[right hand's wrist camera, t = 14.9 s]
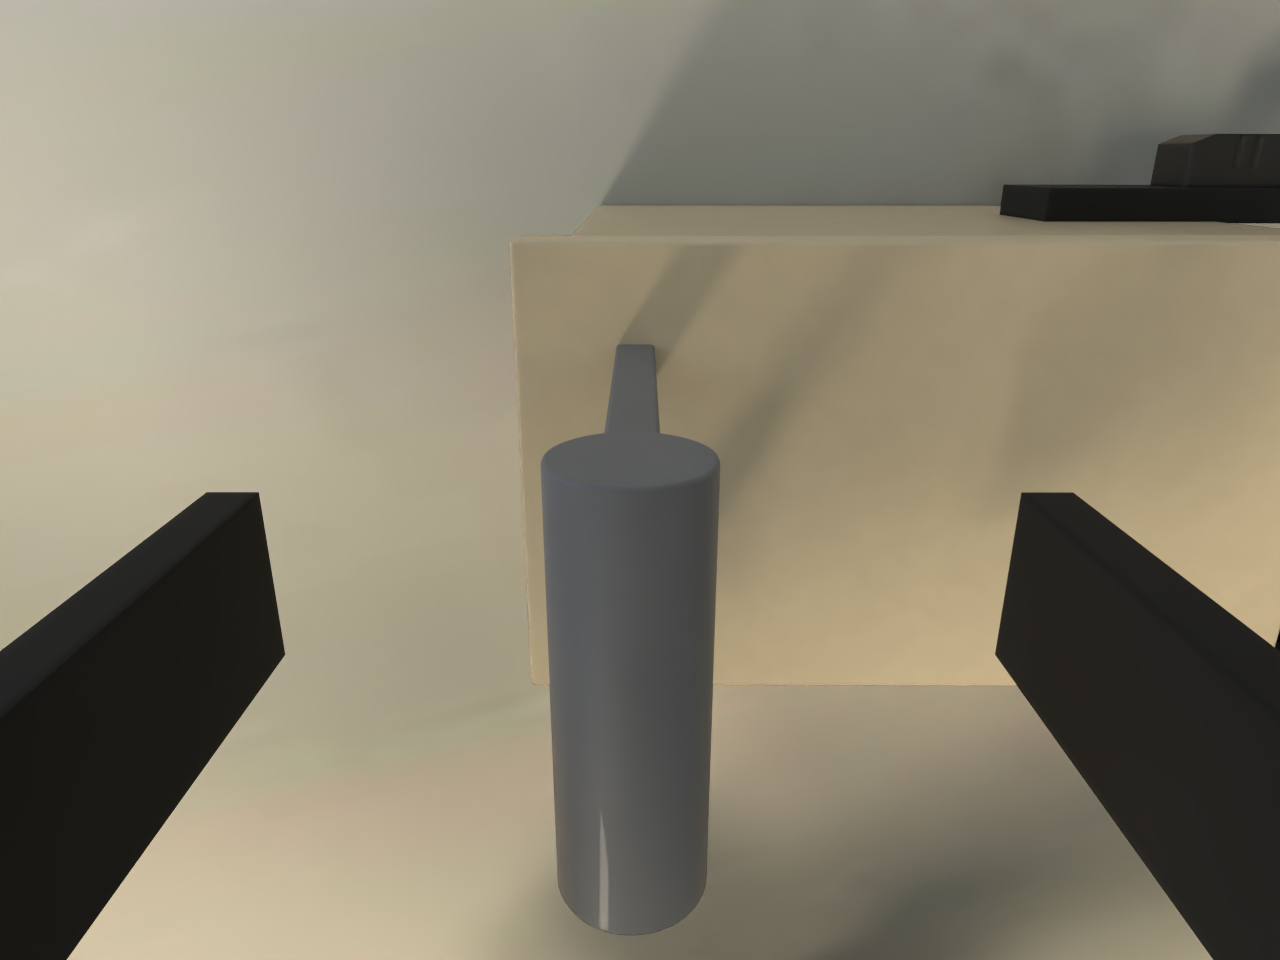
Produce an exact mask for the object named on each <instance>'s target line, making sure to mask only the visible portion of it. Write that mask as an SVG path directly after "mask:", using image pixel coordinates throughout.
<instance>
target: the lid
mask: <svg viewBox="0 0 1280 960" xmlns="http://www.w3.org/2000/svg"><path fill="white" fill-rule="evenodd" d="M509 251H510V271H511V290H512V310H513V330H514V350H515V370H516V390H517V409H518V429H519V449H520V469H521V489H522V509H523V528H524V548H525V568H526V588H527V608H528V628H529V647H530V667H531V681H532V683H533V684H535V685H550V705H551V729H552V753H553V777H554V801H555V824H556V848H557V872H558V884H559V889H560V892H561V895H562V897H563V899H564V901H565V902H566V904H567V905H568V907H569V908H570V909H571V911H572V912H573V913H574V914H575V915H576V916H577V917H579V918H580V919H581V920H582V921H584V922H585V923H587V924H589V925H591V926H592V927H595V928H597V929H599V930H602V931H605V932H609V933H613V934H619V935H644V934H650V933H654V932H658V931H661V930H664V929H666V928H669V927H671V926H673V925H674V924H676V923H678V922H679V921H681V920H682V919H683V918H685V917H686V916H687V915H688V914H689V913H690V912H691V911H692V910H693V909H694V907H695V906H696V905H697V903H698V902H699V900H700V898H701V896H702V894H703V892H704V889H705V884H706V873H707V843H708V814H709V785H710V756H711V726H712V697H713V685H974V686H1017V685H1016V683H1015V682H1014V681H1013V679H1012V678H1011V676H1010V675H1009V674H1008V672H1007V671H1006V669H1005V668H1004V667H1003V665H1002V664H1001V662H1000V661H999V660H998V658H997V657H996V655H995V651H996V645H997V639H998V633H999V626H1000V620H1001V614H1002V608H1003V602H1004V596H1005V590H1006V583H1007V577H1008V571H1009V565H1010V559H1011V553H1012V547H1013V541H1014V534H1015V528H1016V522H1017V516H1018V510H1019V504H1020V498H1021V492H1073V493H1075V494H1076V495H1077V496H1078V497H1080V498H1081V499H1082V500H1084V501H1085V502H1086V503H1088V504H1089V505H1090V506H1091V507H1093V508H1094V509H1095V510H1097V511H1098V512H1099V513H1101V514H1102V515H1103V516H1104V517H1106V518H1107V519H1108V520H1110V521H1111V522H1112V523H1114V524H1115V525H1116V526H1117V527H1119V528H1120V529H1121V530H1123V531H1124V532H1125V533H1127V534H1128V535H1129V536H1130V537H1132V538H1133V539H1134V540H1136V541H1137V542H1138V543H1140V544H1141V545H1142V546H1143V547H1145V548H1146V549H1147V550H1149V551H1150V552H1151V553H1153V554H1154V555H1155V556H1156V557H1158V558H1159V559H1160V560H1162V561H1163V562H1164V563H1166V564H1167V565H1168V566H1169V567H1171V568H1172V569H1173V570H1175V571H1176V572H1177V573H1179V574H1180V575H1181V576H1182V577H1184V578H1185V579H1186V580H1188V581H1189V582H1190V583H1192V584H1193V585H1194V586H1195V587H1197V588H1198V589H1199V590H1201V591H1202V592H1203V593H1205V594H1206V595H1207V596H1208V597H1210V598H1211V599H1212V600H1214V601H1215V602H1216V603H1218V604H1219V605H1220V606H1221V607H1223V608H1224V609H1225V610H1227V611H1228V612H1229V613H1231V614H1232V615H1233V616H1234V617H1236V618H1237V619H1238V620H1240V621H1241V622H1242V623H1244V624H1245V625H1246V626H1247V627H1249V628H1250V629H1251V630H1253V631H1254V632H1255V633H1257V634H1258V635H1259V636H1260V637H1262V638H1263V639H1264V640H1266V641H1267V642H1268V643H1270V644H1271V645H1272V646H1273V647H1275V645H1276V641H1277V638H1278V634H1279V631H1280V236H520V237H518V238H516V239H514V240H513V241H511V242H510V245H509Z"/></svg>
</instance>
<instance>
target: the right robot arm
mask: <svg viewBox="0 0 1280 960" xmlns="http://www.w3.org/2000/svg"><path fill="white" fill-rule="evenodd" d="M284 655H285V651H284V645H283V639H282V633H281V627H280V620H279V614H278V608H277V602H276V596H275V590H274V584H273V577H272V571H271V565H270V559H269V553H268V547H267V541H266V534H265V528H264V522H263V516H262V510H261V504H260V498H259V492H207V493H205V494H204V495H203V496H202V497H200V498H199V499H198V500H196V501H195V502H194V503H192V504H191V505H190V506H189V507H187V508H186V509H185V510H183V511H182V512H181V513H179V514H178V515H177V516H176V517H174V518H173V519H172V520H170V521H169V522H168V523H166V524H165V525H164V526H163V527H161V528H160V529H159V530H157V531H156V532H155V533H153V534H152V535H151V536H150V537H148V538H147V539H146V540H144V541H143V542H142V543H140V544H139V545H138V546H137V547H135V548H134V549H133V550H131V551H130V552H129V553H127V554H126V555H125V556H124V557H122V558H121V559H120V560H118V561H117V562H116V563H114V564H113V565H112V566H111V567H109V568H108V569H107V570H105V571H104V572H103V573H101V574H100V575H99V576H97V577H96V578H95V579H94V580H92V581H91V582H90V583H88V584H87V585H86V586H84V587H83V588H82V589H81V590H79V591H78V592H77V593H75V594H74V595H73V596H71V597H70V598H69V599H68V600H66V601H65V602H64V603H62V604H61V605H60V606H58V607H57V608H56V609H55V610H53V611H52V612H51V613H49V614H48V615H47V616H45V617H44V618H43V619H42V620H40V621H39V622H38V623H36V624H35V625H34V626H32V627H31V628H30V629H29V630H27V631H26V632H25V633H23V634H22V635H21V636H19V637H18V638H17V639H16V640H14V641H13V642H12V643H10V644H9V645H8V646H6V647H5V648H4V649H3V650H1V651H0V960H67V958H68V957H69V955H70V954H71V953H72V951H73V950H74V949H75V947H76V946H77V944H78V943H79V942H80V940H81V939H82V937H83V936H84V935H85V933H86V932H87V930H88V929H89V928H90V926H91V925H92V923H93V922H94V921H95V919H96V918H97V916H98V915H99V914H100V912H101V911H102V909H103V908H104V907H105V905H106V904H107V902H108V901H109V900H110V898H111V897H112V895H113V894H114V893H115V891H116V890H117V888H118V887H119V886H120V884H121V883H122V882H123V880H124V879H125V877H126V876H127V875H128V873H129V872H130V870H131V869H132V868H133V866H134V865H135V863H136V862H137V861H138V859H139V858H140V856H141V855H142V854H143V852H144V851H145V849H146V848H147V847H148V845H149V844H150V842H151V841H152V840H153V838H154V837H155V835H156V834H157V833H158V831H159V830H160V828H161V827H162V826H163V824H164V823H165V821H166V820H167V819H168V817H169V816H170V815H171V813H172V812H173V810H174V809H175V808H176V806H177V805H178V803H179V802H180V801H181V799H182V798H183V796H184V795H185V794H186V792H187V791H188V789H189V788H190V787H191V785H192V784H193V782H194V781H195V780H196V778H197V777H198V775H199V774H200V773H201V771H202V770H203V768H204V767H205V766H206V764H207V763H208V761H209V760H210V759H211V757H212V756H213V755H214V753H215V752H216V750H217V749H218V748H219V746H220V745H221V743H222V742H223V741H224V739H225V738H226V736H227V735H228V734H229V732H230V731H231V729H232V728H233V727H234V725H235V724H236V722H237V721H238V720H239V718H240V717H241V715H242V714H243V713H244V711H245V710H246V708H247V707H248V706H249V704H250V703H251V701H252V700H253V699H254V697H255V696H256V694H257V693H258V692H259V690H260V689H261V688H262V686H263V685H264V683H265V682H266V681H267V679H268V678H269V676H270V675H271V674H272V672H273V671H274V669H275V668H276V667H277V665H278V664H279V662H280V661H281V660H282V658H283V657H284ZM995 655H996V657H997V658H998V660H999V661H1000V662H1001V664H1002V665H1003V667H1004V668H1005V669H1006V671H1007V672H1008V674H1009V675H1010V676H1011V678H1012V679H1013V681H1014V682H1015V683H1016V685H1017V686H1018V688H1019V689H1020V690H1021V692H1022V693H1023V695H1024V696H1025V697H1026V699H1027V700H1028V701H1029V703H1030V704H1031V706H1032V707H1033V708H1034V710H1035V711H1036V713H1037V714H1038V715H1039V717H1040V718H1041V720H1042V721H1043V722H1044V724H1045V725H1046V727H1047V728H1048V729H1049V731H1050V732H1051V734H1052V735H1053V736H1054V738H1055V739H1056V741H1057V742H1058V743H1059V745H1060V746H1061V748H1062V749H1063V750H1064V752H1065V753H1066V755H1067V756H1068V757H1069V759H1070V760H1071V762H1072V763H1073V764H1074V766H1075V767H1076V768H1077V770H1078V771H1079V773H1080V774H1081V775H1082V777H1083V778H1084V780H1085V781H1086V782H1087V784H1088V785H1089V787H1090V788H1091V789H1092V791H1093V792H1094V794H1095V795H1096V796H1097V798H1098V799H1099V801H1100V802H1101V803H1102V805H1103V806H1104V808H1105V809H1106V810H1107V812H1108V813H1109V815H1110V816H1111V817H1112V819H1113V820H1114V822H1115V823H1116V824H1117V826H1118V827H1119V829H1120V830H1121V831H1122V833H1123V834H1124V835H1125V837H1126V838H1127V840H1128V841H1129V842H1130V844H1131V845H1132V847H1133V848H1134V849H1135V851H1136V852H1137V854H1138V855H1139V856H1140V858H1141V859H1142V861H1143V862H1144V863H1145V865H1146V866H1147V868H1148V869H1149V870H1150V872H1151V873H1152V875H1153V876H1154V877H1155V879H1156V880H1157V882H1158V883H1159V884H1160V886H1161V887H1162V889H1163V890H1164V891H1165V893H1166V894H1167V895H1168V897H1169V898H1170V900H1171V901H1172V902H1173V904H1174V905H1175V907H1176V908H1177V909H1178V911H1179V912H1180V914H1181V915H1182V916H1183V918H1184V919H1185V921H1186V922H1187V923H1188V925H1189V926H1190V928H1191V929H1192V930H1193V932H1194V933H1195V935H1196V936H1197V937H1198V939H1199V940H1200V942H1201V943H1202V944H1203V946H1204V947H1205V949H1206V950H1207V951H1208V953H1209V954H1210V956H1211V957H1212V958H1213V960H1280V651H1279V650H1277V649H1276V648H1275V647H1273V646H1272V645H1271V644H1270V643H1268V642H1267V641H1266V640H1264V639H1263V638H1262V637H1260V636H1259V635H1258V634H1257V633H1255V632H1254V631H1253V630H1251V629H1250V628H1249V627H1247V626H1246V625H1245V624H1244V623H1242V622H1241V621H1240V620H1238V619H1237V618H1236V617H1234V616H1233V615H1232V614H1231V613H1229V612H1228V611H1227V610H1225V609H1224V608H1223V607H1221V606H1220V605H1219V604H1218V603H1216V602H1215V601H1214V600H1212V599H1211V598H1210V597H1208V596H1207V595H1206V594H1205V593H1203V592H1202V591H1201V590H1199V589H1198V588H1197V587H1195V586H1194V585H1193V584H1192V583H1190V582H1189V581H1188V580H1186V579H1185V578H1184V577H1182V576H1181V575H1180V574H1179V573H1177V572H1176V571H1175V570H1173V569H1172V568H1171V567H1169V566H1168V565H1167V564H1166V563H1164V562H1163V561H1162V560H1160V559H1159V558H1158V557H1156V556H1155V555H1154V554H1153V553H1151V552H1150V551H1149V550H1147V549H1146V548H1145V547H1143V546H1142V545H1141V544H1140V543H1138V542H1137V541H1136V540H1134V539H1133V538H1132V537H1130V536H1129V535H1128V534H1127V533H1125V532H1124V531H1123V530H1121V529H1120V528H1119V527H1117V526H1116V525H1115V524H1114V523H1112V522H1111V521H1110V520H1108V519H1107V518H1106V517H1104V516H1103V515H1102V514H1101V513H1099V512H1098V511H1097V510H1095V509H1094V508H1093V507H1091V506H1090V505H1089V504H1088V503H1086V502H1085V501H1084V500H1082V499H1081V498H1080V497H1078V496H1077V495H1076V494H1075V493H1073V492H1021V498H1020V504H1019V510H1018V516H1017V522H1016V528H1015V534H1014V541H1013V547H1012V553H1011V559H1010V565H1009V571H1008V577H1007V583H1006V590H1005V596H1004V602H1003V608H1002V614H1001V620H1000V626H999V633H998V639H997V645H996V651H995Z"/></svg>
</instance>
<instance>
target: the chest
mask: <svg viewBox="0 0 1280 960" xmlns="http://www.w3.org/2000/svg"><path fill="white" fill-rule="evenodd" d="M1000 207H1001V206H756V205H601V206H599V207H597V209H596V210H595V211H594V212H593V213H592V214H591V215H590V216H589V217H588V218H587V220H586V221H585V222H584V223H583V224H582V225H581V226H580V227H579V228H578V229H577V230H576V232H575V233H574V234H573V235H572V236H1280V229H1277V228H1268V227H1259V226H1250V225H1240V224H1231V223H1222V222H1044V221H1038V220H1031V219H1025V218H1018V217H1012V216H1005V215H1000Z"/></svg>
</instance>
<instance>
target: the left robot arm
mask: <svg viewBox="0 0 1280 960" xmlns="http://www.w3.org/2000/svg"><path fill="white" fill-rule="evenodd" d="M1000 215H1005V216H1012V217H1018V218H1025V219H1031V220H1038V221H1044V222H1222V223H1280V134H1207V135H1184V136H1179V137H1176V138H1173V139H1171V140H1168V141H1166V142H1163V143H1161V144H1159V145H1158V150H1157V155H1156V160H1155V165H1154V170H1153V175H1152V180H1151V185H1004V186H1003V193H1002V200H1001V207H1000ZM1275 648H1276V649H1277V650H1279V651H1280V631H1279V634H1278V638H1277V641H1276V645H1275Z"/></svg>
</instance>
